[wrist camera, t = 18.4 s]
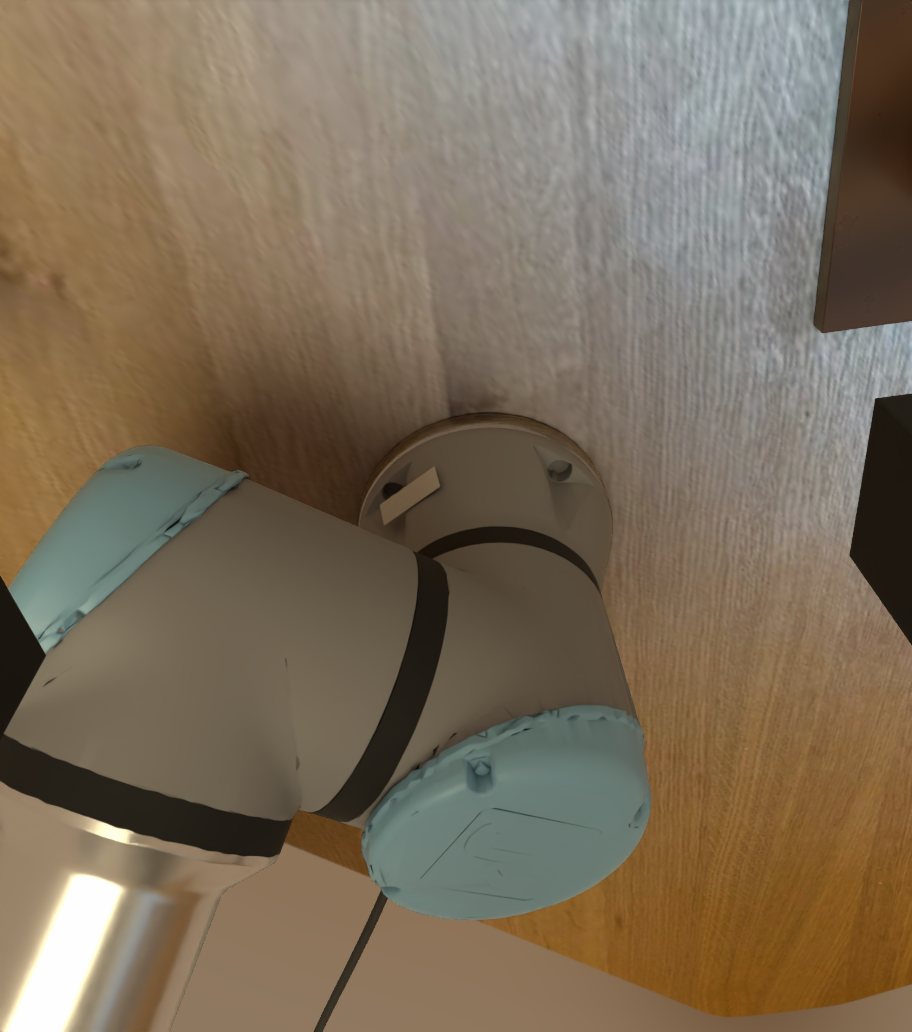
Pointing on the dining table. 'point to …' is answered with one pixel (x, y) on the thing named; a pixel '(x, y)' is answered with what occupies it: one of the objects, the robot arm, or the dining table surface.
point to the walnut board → (870, 175)
